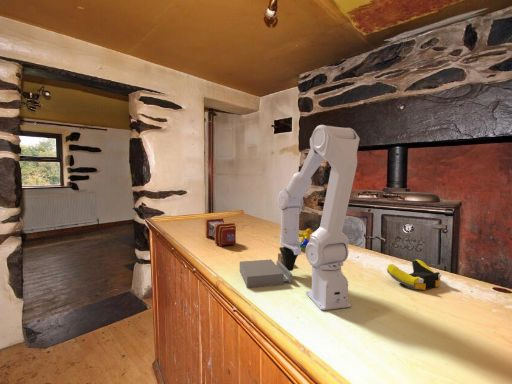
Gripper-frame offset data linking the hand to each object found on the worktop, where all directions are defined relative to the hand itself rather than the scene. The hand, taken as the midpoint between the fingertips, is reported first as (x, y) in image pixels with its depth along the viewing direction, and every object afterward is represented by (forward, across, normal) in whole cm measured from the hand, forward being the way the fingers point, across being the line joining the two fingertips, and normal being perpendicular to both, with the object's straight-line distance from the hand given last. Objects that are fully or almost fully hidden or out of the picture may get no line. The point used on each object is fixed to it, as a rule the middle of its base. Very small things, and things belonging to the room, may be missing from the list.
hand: (289, 270), depth 83 cm
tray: (+1, 0, +7) cm, 7 cm away
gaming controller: (+2, -13, -35) cm, 38 cm away
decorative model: (+2, +27, -18) cm, 32 cm away
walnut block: (+2, +10, -2) cm, 10 cm away
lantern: (+2, +47, +18) cm, 50 cm away
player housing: (+2, 0, +9) cm, 9 cm away
